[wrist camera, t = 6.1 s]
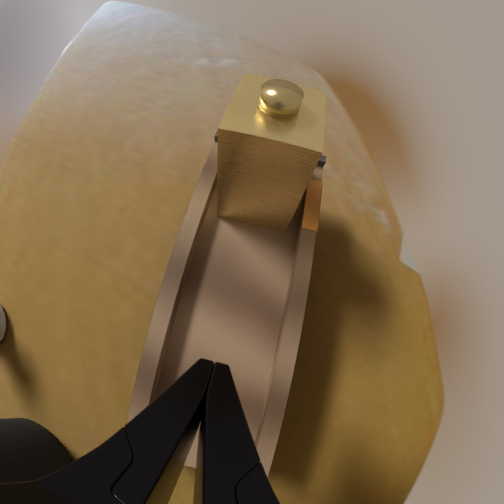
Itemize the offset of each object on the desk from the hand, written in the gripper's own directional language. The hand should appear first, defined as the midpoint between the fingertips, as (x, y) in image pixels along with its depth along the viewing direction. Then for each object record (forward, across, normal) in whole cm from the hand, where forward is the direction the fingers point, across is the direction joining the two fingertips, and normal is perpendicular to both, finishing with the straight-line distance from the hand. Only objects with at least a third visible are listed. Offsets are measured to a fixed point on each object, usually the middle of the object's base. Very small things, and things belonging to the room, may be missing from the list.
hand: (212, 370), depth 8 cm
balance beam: (+12, 0, +5) cm, 13 cm away
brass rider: (+14, 0, -3) cm, 14 cm away
